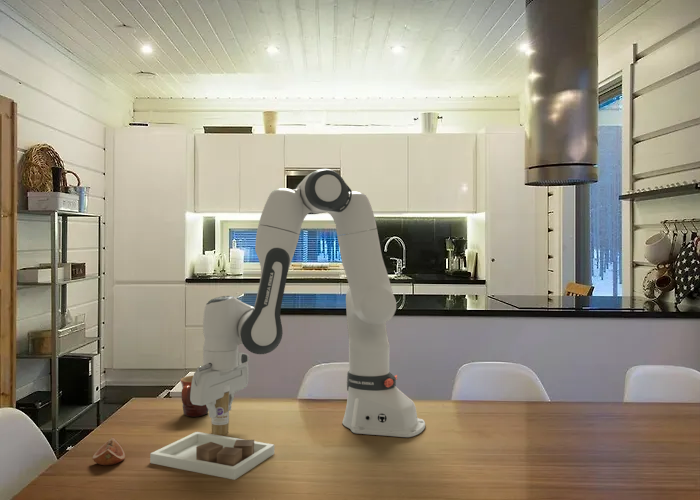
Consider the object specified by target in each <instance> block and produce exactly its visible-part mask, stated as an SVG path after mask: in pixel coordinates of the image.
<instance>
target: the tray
mask: <svg viewBox="0 0 700 500" xmlns="http://www.w3.org/2000/svg"><path fill="white" fill-rule="evenodd" d="M236 440H245V439H244V438H243V439H242V438H237V437H230V436H225V435H222V436H220V435H214V434H211V433H207V432H201V431H194V432H193V433H191V434H188V435H187V436H185V437H182V438H180V439H178V440H176V441H174V442H172V443H169V444H168V445H165V446H163V447H162V448H159V449H157V450H155V451H152V452H150V456H149V457H150V459H149V462H150V464H153V465H158V466H164V467H168V468H172V469H177V470H184V471H189V472H194V473H199V474H204V475H209V476H213V477H218V478H223V479H228V480H233V481H235V480H237V479H238V478H240V477H242V475H245V474H246V473H248V472H249V471H251V470H253V469H254V468H255V467H256V466H258V465H259V464H261V463H264V461H266V460H267V459H268V458H270V457H272V456H273V455H275V444H272V443H268V442H262V441H256V440H254V454H253V455H251V456H249V457H248V458H246V459H244V460H243V461H241V462H240V463H238V464H236V465H235V466H228V465H223V464H217V463H212V462H207V461H201V460H196V447H197V446H200V445H203V444H206V443H209V442H213V443H216V444H219V445H223V448H224V447H231V448H234V444H235V442H236Z"/></svg>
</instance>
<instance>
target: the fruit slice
mask: <svg viewBox="0 0 700 500" xmlns="http://www.w3.org/2000/svg"><path fill="white" fill-rule="evenodd" d="M91 459H92V460H93V462H94V463H95V464H98V465H100V466H101V465H102V466H110V465H116V464H118V463H121V462H123V461H124V460H125V459H126V453H125V450H124V448H123V447H122V445H121V444H120V443H119V442H118V441H117V439H115V438H114V437H113V436H112V437H111V438H109V440H107V441H106V442H105V443H104V444H103V445H101V446H100V447H99V448H98V449H97V450H96V451H95V453H94V454H93V455H92V458H91Z"/></svg>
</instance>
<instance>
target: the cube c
mask: <svg viewBox="0 0 700 500" xmlns="http://www.w3.org/2000/svg"><path fill="white" fill-rule="evenodd" d="M254 441H255V439H244V440H236V442H235V444H234V448H242V461H243V460H244V459H246V458H248V457H249V456H251V455H253V454H254Z"/></svg>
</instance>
